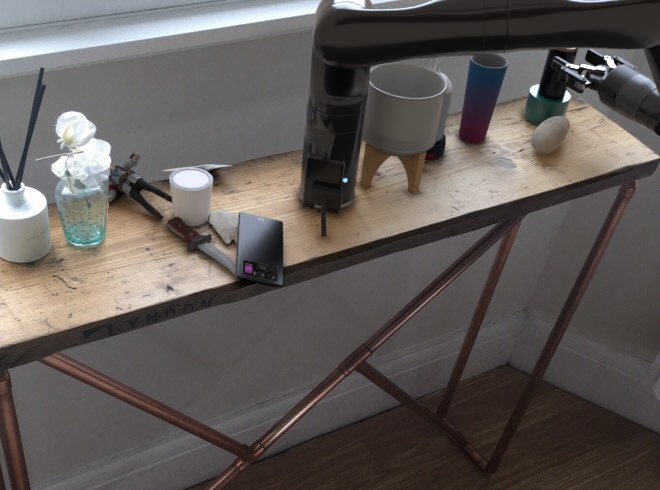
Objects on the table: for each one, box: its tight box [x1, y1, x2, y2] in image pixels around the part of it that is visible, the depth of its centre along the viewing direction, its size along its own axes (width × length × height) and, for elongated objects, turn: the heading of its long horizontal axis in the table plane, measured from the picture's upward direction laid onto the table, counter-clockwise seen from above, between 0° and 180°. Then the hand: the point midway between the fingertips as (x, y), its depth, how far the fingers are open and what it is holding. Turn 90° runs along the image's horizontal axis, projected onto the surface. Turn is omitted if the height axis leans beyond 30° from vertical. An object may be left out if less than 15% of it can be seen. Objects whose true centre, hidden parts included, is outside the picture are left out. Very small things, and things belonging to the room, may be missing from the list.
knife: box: [166, 216, 236, 276], centre depth 135 cm, size 17×1×5 cm
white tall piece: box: [425, 57, 453, 162], centre depth 154 cm, size 8×8×25 cm
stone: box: [530, 116, 571, 155], centre depth 165 cm, size 6×6×12 cm
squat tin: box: [522, 83, 572, 126], centre depth 174 cm, size 8×8×5 cm
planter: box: [359, 62, 447, 196], centre depth 149 cm, size 13×13×18 cm
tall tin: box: [538, 48, 580, 99], centre depth 169 cm, size 5×5×10 cm
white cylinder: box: [168, 167, 214, 227], centre depth 140 cm, size 7×7×7 cm
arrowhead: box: [208, 209, 239, 245], centre depth 140 cm, size 7×2×10 cm
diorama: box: [161, 163, 233, 172], centre depth 151 cm, size 8×12×2 cm
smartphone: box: [235, 211, 284, 288], centre depth 135 cm, size 7×15×1 cm, turn 2°
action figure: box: [107, 152, 172, 221], centre depth 142 cm, size 9×7×15 cm
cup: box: [458, 53, 510, 144], centre depth 163 cm, size 7×7×15 cm
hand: (570, 57), depth 165 cm, fingers open, 8 cm apart
